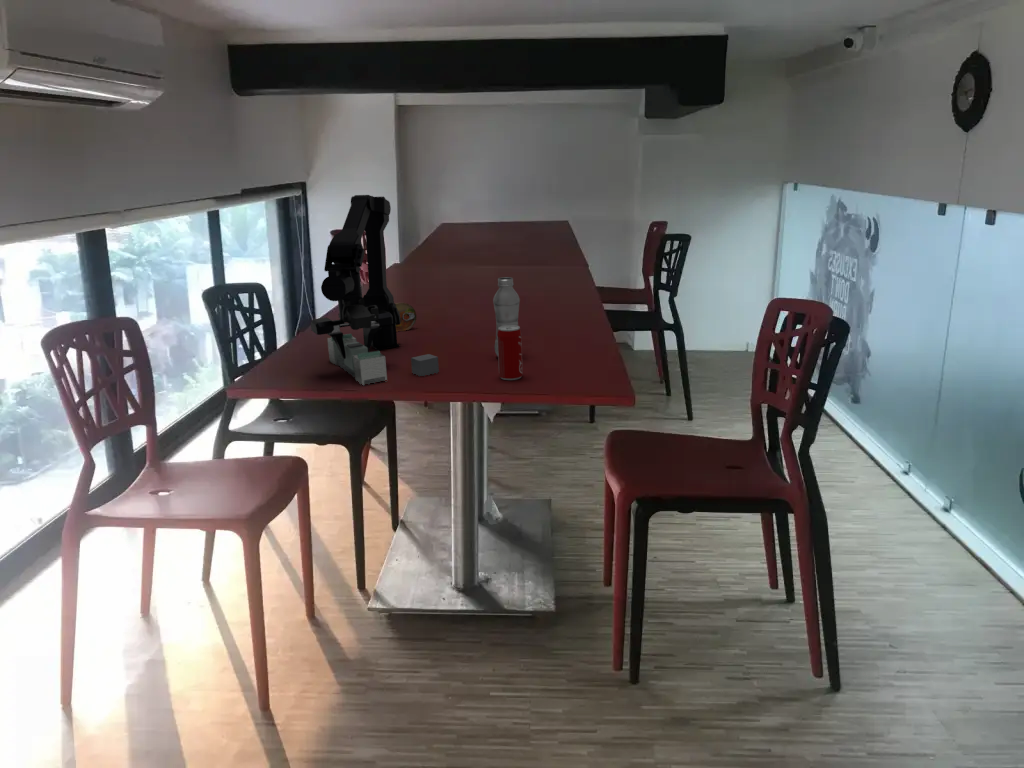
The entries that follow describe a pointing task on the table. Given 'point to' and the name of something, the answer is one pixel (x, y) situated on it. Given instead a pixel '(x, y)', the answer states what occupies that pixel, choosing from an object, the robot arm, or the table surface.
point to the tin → (405, 316)
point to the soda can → (510, 352)
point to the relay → (424, 365)
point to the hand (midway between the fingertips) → (355, 356)
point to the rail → (360, 362)
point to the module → (353, 352)
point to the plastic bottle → (505, 305)
